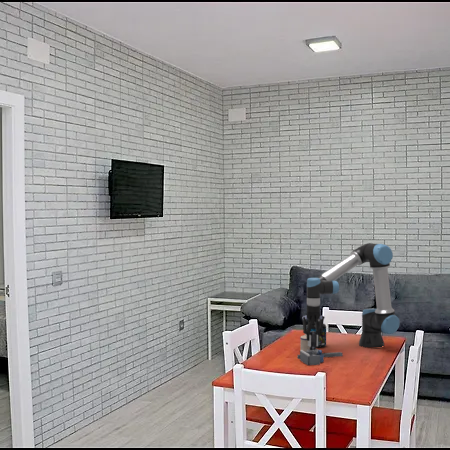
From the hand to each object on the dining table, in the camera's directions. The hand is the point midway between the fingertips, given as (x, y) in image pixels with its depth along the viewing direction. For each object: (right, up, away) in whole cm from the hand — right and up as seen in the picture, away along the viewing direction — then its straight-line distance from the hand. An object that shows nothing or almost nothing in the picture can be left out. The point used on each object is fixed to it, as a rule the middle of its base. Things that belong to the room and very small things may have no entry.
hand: (312, 346), depth 344 cm
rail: (+4, -7, +1) cm, 8 cm away
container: (+7, -6, +30) cm, 31 cm away
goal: (-3, -7, -11) cm, 13 cm away
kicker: (+1, -7, -5) cm, 8 cm away
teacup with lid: (-1, -7, +14) cm, 16 cm away
